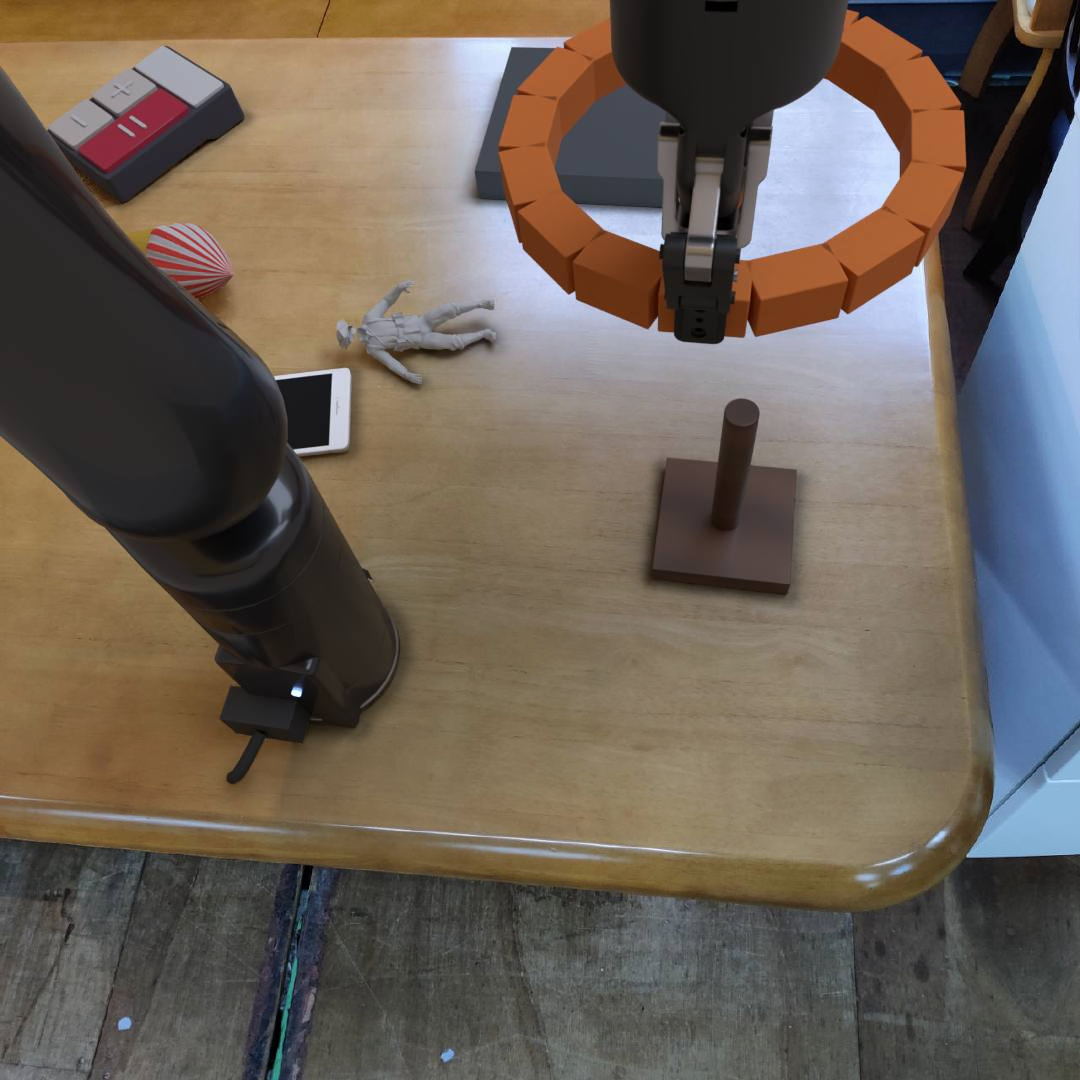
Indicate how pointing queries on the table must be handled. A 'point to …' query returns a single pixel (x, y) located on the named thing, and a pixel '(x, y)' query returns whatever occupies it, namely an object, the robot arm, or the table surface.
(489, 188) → the stand
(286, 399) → the cell phone
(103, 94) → the grey and red box
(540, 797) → the table surface
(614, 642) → the table surface
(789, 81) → the robot arm
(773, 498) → the post
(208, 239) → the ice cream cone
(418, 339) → the soldier figure
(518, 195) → the ring
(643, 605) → the table surface
